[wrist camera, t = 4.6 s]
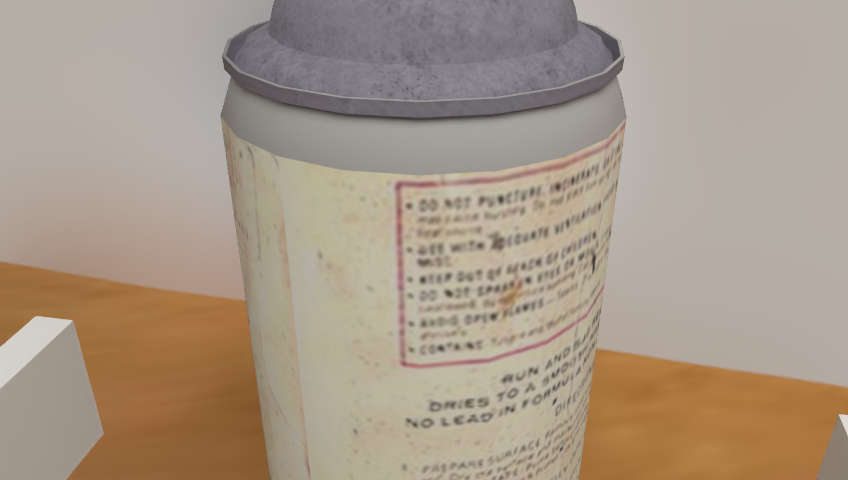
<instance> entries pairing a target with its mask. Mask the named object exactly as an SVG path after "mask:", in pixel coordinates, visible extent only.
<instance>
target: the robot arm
mask: <svg viewBox="0 0 848 480" xmlns="http://www.w3.org/2000/svg"><path fill="white" fill-rule="evenodd" d="M103 434H104V433H103V429H102V425H101V422H100V418H99V414H98V411H97V407H96V403H95V400H94V396H93V392H92V388H91V385H90V381H89V377H88V374H87V370H86V366H85V363H84V359H83V355H82V352H81V348H80V344H79V340H78V337H77V333H76V329H75V326H74V322H73V321H72V320H64V319H56V318H48V317H40V316H36V317H34V318H33V319H32V320H31V321H30V322H29V323H27V324H26V325H25V326H24V327H23V328H22V329H21V330H19V331H18V332H17V333H16V334H15V335H14V336H12V337H11V338H10V339H9V340H8V341H7V342H6V343H4V344H3V345H2V346H1V347H0V480H66V479H67V478H68V477H69V476H70V474H71V473H72V472H73V471H74V469H75V468H76V467H77V466H78V465H79V463H80V462H81V461H82V460H83V458H84V457H85V456H86V455H87V453H88V452H89V451H90V450H91V449H92V447H93V446H94V445H95V444H96V442H97V441H98V440H99V439H100V438H101V436H102V435H103ZM816 480H848V415H840V414H839V415H838V418H837V421H836V424H835V427H834V430H833V433H832V435H831V438H830V441H829V444H828V447H827V450H826V453H825V456H824V459H823V462H822V465H821V468H820V471H819V474H818V477H817V479H816Z"/></svg>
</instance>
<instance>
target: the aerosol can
mask: <svg viewBox="0 0 848 480" xmlns="http://www.w3.org/2000/svg"><path fill="white" fill-rule="evenodd" d="M624 57H625V56H624V52H623V48H622V44H621V40H619V39H618V38H616V37H615V36H613V35H611V34H610V33H608V32H607V31H605V30H604V29H602V28H601V27H599V26H596V25H593V24H590V23H587V22H583V21H580V20H577V14H576V9H575V5H574V2H573V0H275V2H274V5H273V8H272V13H271V19H270V21H266V22H263V23H259V24H256V25H253V26H250V27H249V28H247V29H245V30H243V31H242V32H240V33H239V34H237V35H235V36H233V37H232V38H230V39H228V41H227V43H226V46H225V49H224V52H223V55H222V58H223V63H224V69H225V70H226V71H227V72H228V73H229V74H230V75H231V79H230V83H229V87H228V90H227V94H226V98H225V102H224V105H223V109H222V112H221V123H222V130H223V137H224V144H225V151H226V159H227V166H228V174H229V181H230V188H231V195H232V203H233V210H234V217H235V225H236V232H237V239H238V247H239V253H240V262H241V268H242V276H243V283H244V291H245V298H246V305H247V313H248V320H249V327H250V335H251V342H252V349H253V357H254V364H255V371H256V379H257V386H258V393H259V401H260V408H261V415H262V422H263V430H264V437H265V444H266V452H267V459H268V466H269V474H270V480H579V472H580V465H581V457H582V449H583V442H584V434H585V427H586V419H587V411H588V404H589V396H590V389H591V381H592V374H593V366H594V358H595V351H596V343H597V336H598V328H599V320H600V313H601V305H602V298H603V290H604V282H605V275H606V267H607V260H608V251H609V244H610V237H611V229H612V222H613V214H614V207H615V199H616V192H617V184H618V176H619V169H620V161H621V154H622V146H623V138H624V131H625V123H626V113H625V108H624V102H623V97H622V93H621V90H620V86H619V82H618V79H617V74H618V73H619V72H620V71H622V67H623V62H624Z"/></svg>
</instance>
